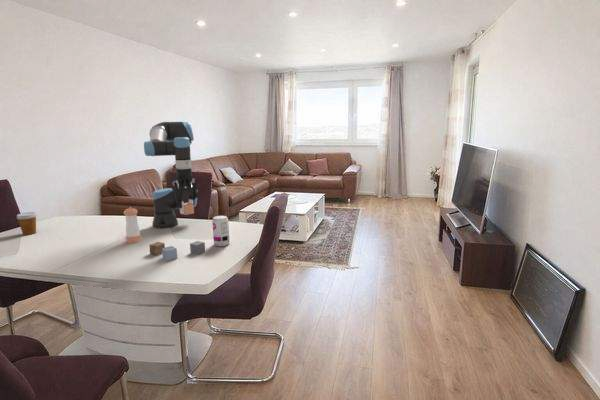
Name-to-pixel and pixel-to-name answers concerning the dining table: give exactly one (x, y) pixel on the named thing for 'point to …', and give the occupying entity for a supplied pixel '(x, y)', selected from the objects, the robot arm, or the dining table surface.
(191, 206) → the terracotta cube
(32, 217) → the disposable coffee cup
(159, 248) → the walnut cube
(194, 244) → the charcoal cube
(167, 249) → the slate blue cube
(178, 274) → the dining table surface
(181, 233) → the dining table surface
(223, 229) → the supplement can
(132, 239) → the pepper shaker
